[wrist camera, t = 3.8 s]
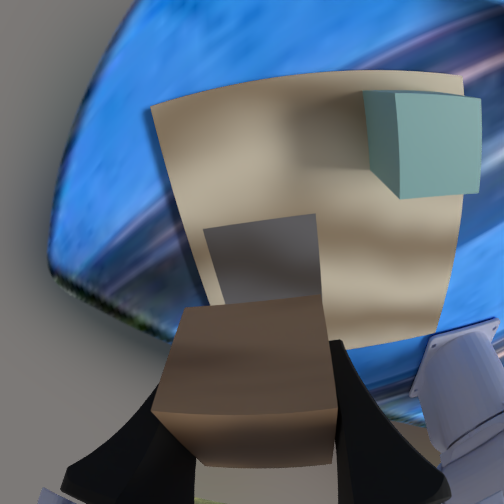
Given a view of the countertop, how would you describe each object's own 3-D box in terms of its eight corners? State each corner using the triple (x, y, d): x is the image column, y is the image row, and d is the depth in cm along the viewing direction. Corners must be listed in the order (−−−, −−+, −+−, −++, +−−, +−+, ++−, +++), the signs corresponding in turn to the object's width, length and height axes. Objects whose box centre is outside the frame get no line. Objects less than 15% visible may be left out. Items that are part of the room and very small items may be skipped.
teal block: (437, 165, 13) (478, 193, 9) (369, 170, 13) (399, 199, 10) (434, 91, 11) (480, 98, 7) (362, 90, 11) (394, 93, 8)
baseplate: (431, 325, 20) (435, 332, 19) (232, 352, 22) (230, 360, 21) (454, 75, 11) (462, 76, 10) (156, 105, 13) (150, 106, 12)
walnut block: (324, 375, 13) (331, 463, 9) (219, 382, 13) (205, 466, 10) (320, 294, 10) (338, 408, 6) (184, 307, 11) (150, 410, 7)
